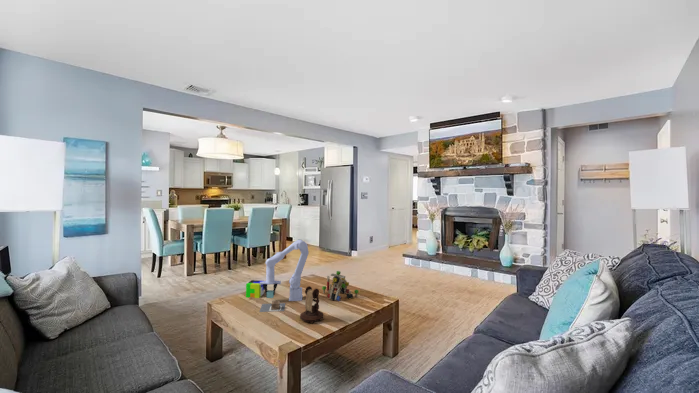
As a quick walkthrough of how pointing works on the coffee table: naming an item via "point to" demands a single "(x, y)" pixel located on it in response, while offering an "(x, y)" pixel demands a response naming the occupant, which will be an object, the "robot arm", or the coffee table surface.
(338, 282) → the toy construction set
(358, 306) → the coffee table surface
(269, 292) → the teal block
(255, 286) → the puzzle toy
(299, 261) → the robot arm
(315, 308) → the wooden figurine on stand
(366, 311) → the coffee table surface
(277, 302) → the walnut block
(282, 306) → the grey flat plate
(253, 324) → the coffee table surface
